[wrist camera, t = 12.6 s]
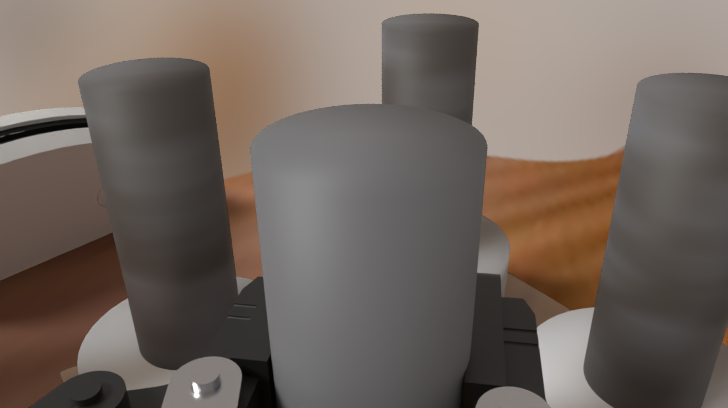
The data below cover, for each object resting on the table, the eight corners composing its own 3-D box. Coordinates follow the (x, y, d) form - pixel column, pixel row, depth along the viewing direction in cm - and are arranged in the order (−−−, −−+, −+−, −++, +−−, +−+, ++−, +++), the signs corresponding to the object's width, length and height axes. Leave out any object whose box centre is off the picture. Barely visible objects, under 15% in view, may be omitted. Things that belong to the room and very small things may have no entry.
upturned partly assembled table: (76, 427, 26) (-36, 67, 19) (427, 271, 36) (438, -4, 29) (329, 1039, 12) (260, 552, 5) (787, 515, 22) (973, 101, 15)
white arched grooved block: (116, 192, 45) (116, 71, 39) (155, 231, 44) (162, 111, 37) (-166, 299, 34) (-230, 154, 28) (-129, 358, 32) (-189, 217, 26)
